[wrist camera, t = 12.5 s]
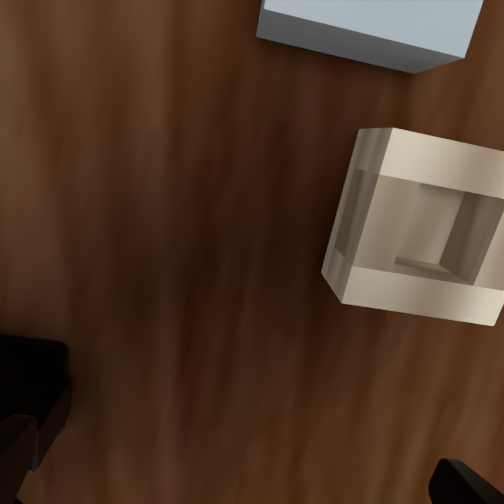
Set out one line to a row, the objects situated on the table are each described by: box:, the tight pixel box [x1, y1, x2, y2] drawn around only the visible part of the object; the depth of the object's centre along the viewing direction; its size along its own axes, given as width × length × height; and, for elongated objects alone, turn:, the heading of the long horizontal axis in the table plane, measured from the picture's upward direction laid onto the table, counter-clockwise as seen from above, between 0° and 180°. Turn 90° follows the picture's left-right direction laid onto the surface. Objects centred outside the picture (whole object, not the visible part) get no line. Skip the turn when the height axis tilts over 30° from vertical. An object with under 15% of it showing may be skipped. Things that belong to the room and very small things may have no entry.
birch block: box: [321, 128, 504, 326], centre depth 18 cm, size 8×8×4 cm
